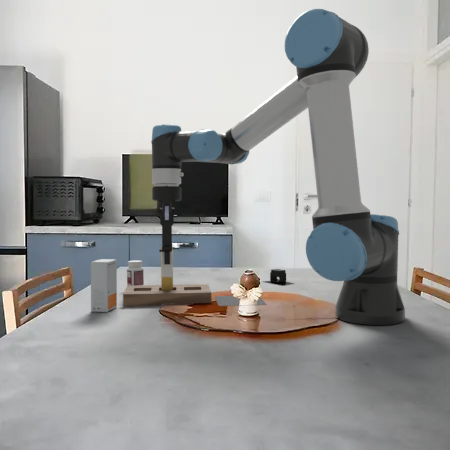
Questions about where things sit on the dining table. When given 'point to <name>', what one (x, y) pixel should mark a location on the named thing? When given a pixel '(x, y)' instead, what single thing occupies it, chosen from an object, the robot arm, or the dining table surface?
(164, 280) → the peg
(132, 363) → the dining table surface
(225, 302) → the mat
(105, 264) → the skincare box
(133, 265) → the pill bottle
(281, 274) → the black box
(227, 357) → the dining table surface
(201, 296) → the block
